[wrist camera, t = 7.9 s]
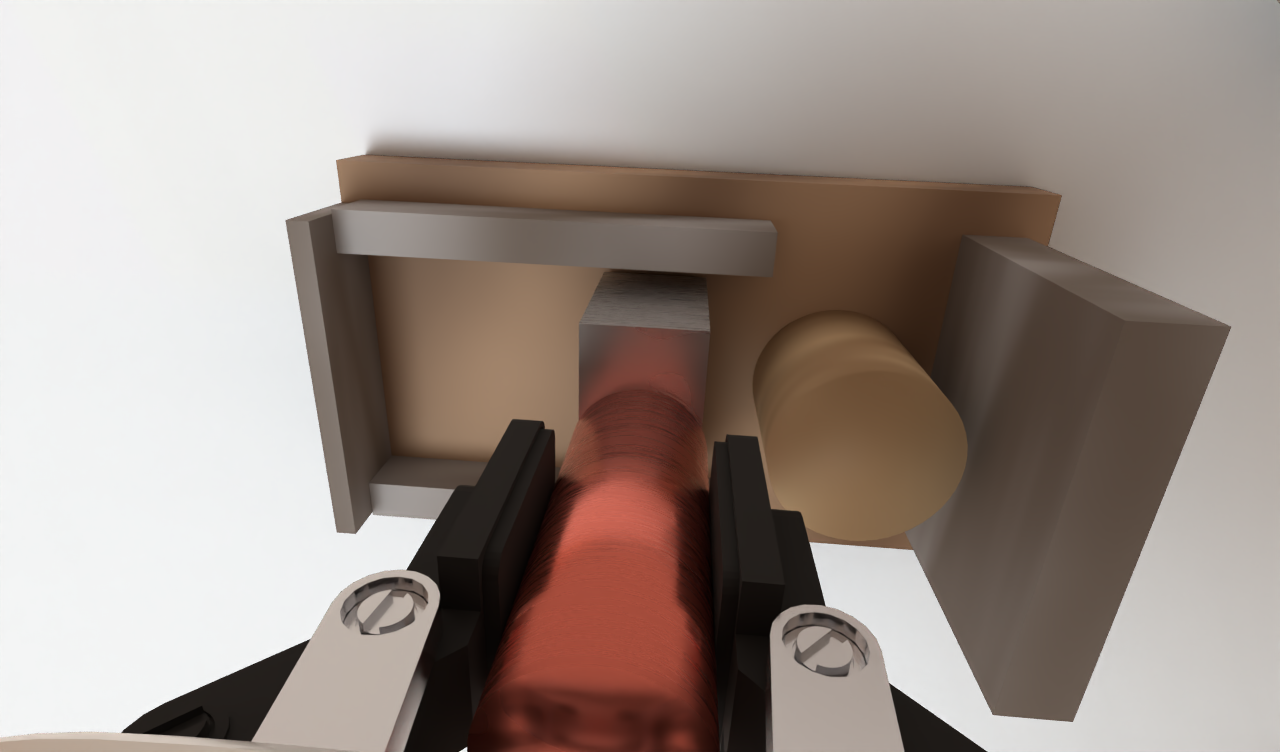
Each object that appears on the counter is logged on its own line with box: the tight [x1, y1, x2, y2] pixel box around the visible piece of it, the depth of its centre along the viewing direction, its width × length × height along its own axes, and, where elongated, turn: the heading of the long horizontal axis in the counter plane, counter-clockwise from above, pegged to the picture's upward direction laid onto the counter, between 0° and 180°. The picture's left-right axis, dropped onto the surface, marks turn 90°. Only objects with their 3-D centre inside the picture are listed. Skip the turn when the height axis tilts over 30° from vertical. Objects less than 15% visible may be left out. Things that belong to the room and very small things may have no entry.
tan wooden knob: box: [752, 310, 968, 541], centre depth 16 cm, size 4×4×4 cm
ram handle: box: [467, 272, 720, 752], centre depth 12 cm, size 3×5×11 cm, turn 178°
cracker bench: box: [286, 155, 1231, 722], centre depth 15 cm, size 17×10×8 cm, turn 88°
